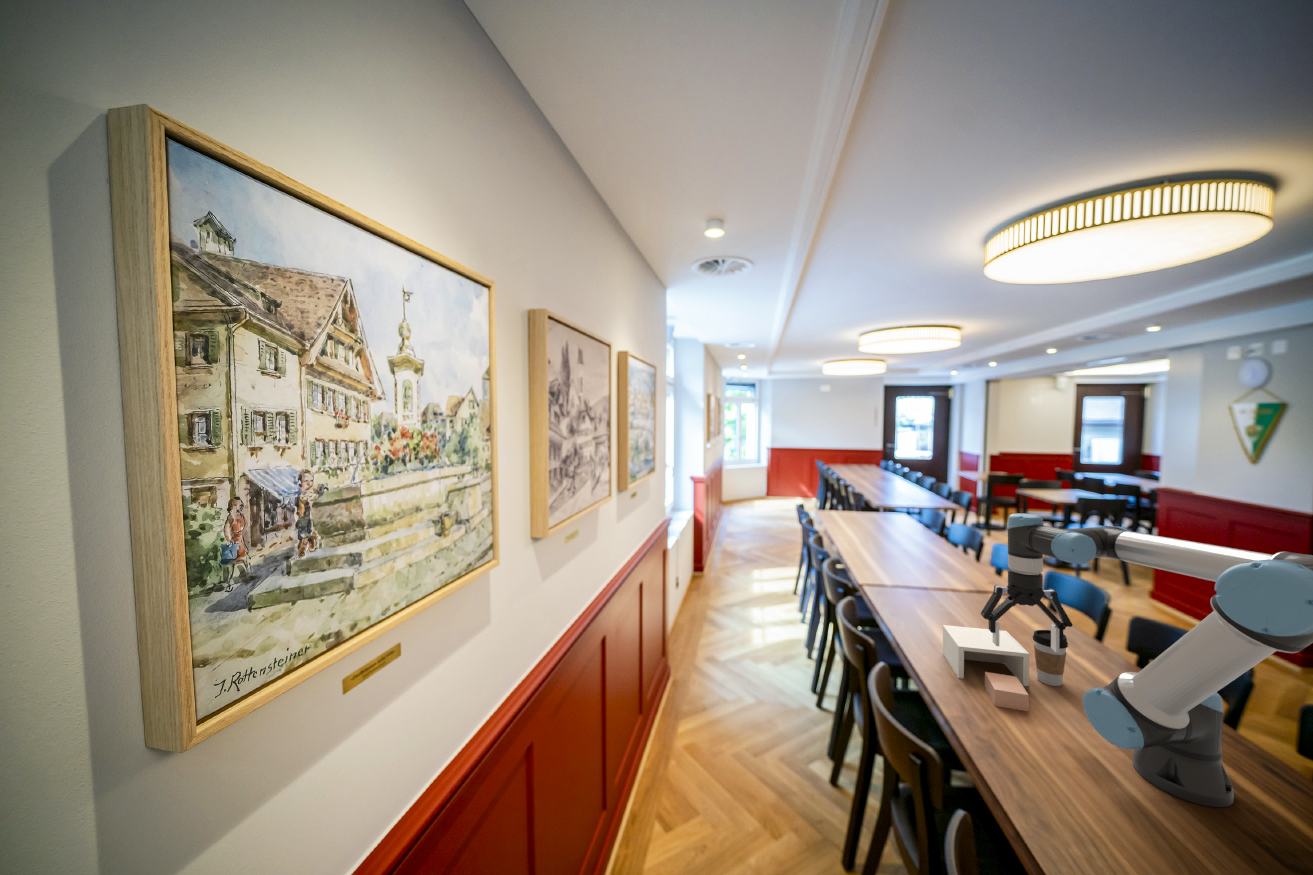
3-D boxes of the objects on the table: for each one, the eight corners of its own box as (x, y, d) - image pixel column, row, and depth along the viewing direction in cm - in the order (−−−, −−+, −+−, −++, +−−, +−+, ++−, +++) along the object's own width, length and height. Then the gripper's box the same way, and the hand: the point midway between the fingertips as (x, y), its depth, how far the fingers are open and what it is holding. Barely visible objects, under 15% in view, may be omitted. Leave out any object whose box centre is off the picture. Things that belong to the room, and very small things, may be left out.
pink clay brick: (1028, 712, 131) (1028, 694, 131) (994, 706, 134) (994, 689, 134) (1016, 692, 140) (1016, 676, 140) (984, 687, 143) (984, 671, 143)
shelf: (1028, 686, 143) (1029, 653, 143) (958, 677, 148) (958, 646, 148) (1005, 660, 158) (1006, 630, 158) (942, 653, 164) (942, 624, 163)
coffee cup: (1074, 689, 141) (1074, 640, 140) (1042, 686, 143) (1042, 638, 142) (1056, 674, 149) (1057, 628, 149) (1026, 672, 151) (1026, 626, 150)
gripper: (1073, 570, 127) (1073, 646, 128) (967, 563, 135) (968, 635, 136) (1089, 578, 120) (1088, 659, 121) (976, 571, 128) (977, 647, 129)
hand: (1025, 647), depth 128 cm, fingers open, 13 cm apart
